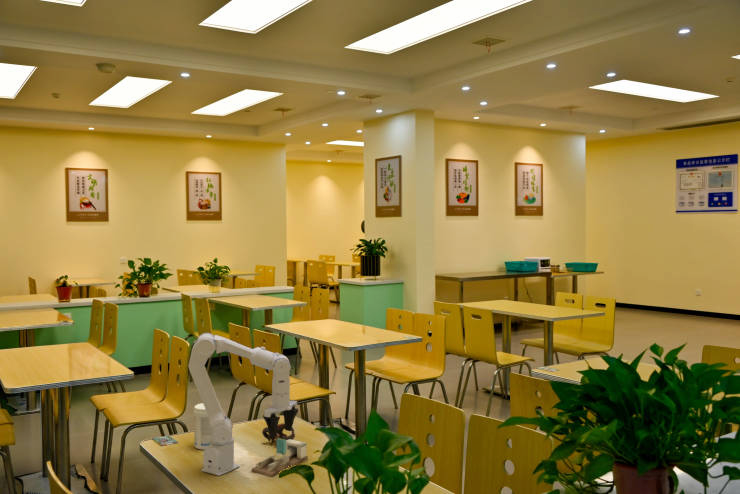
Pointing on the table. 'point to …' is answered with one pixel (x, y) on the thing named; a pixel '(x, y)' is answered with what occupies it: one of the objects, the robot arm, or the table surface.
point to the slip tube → (283, 451)
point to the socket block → (298, 447)
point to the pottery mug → (278, 433)
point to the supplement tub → (202, 427)
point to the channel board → (276, 465)
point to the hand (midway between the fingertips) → (280, 433)
